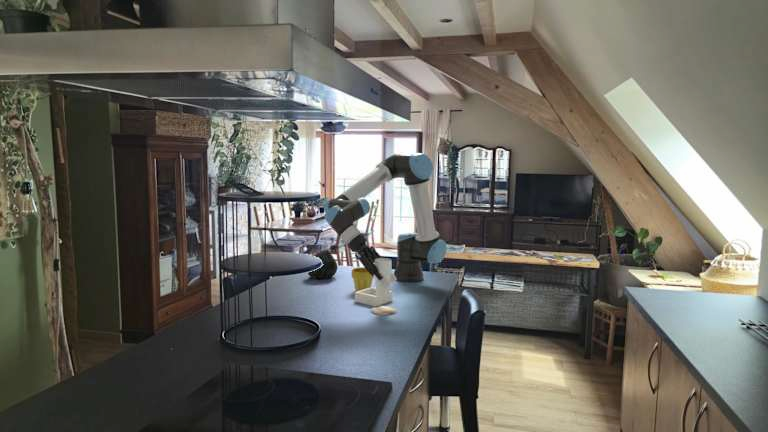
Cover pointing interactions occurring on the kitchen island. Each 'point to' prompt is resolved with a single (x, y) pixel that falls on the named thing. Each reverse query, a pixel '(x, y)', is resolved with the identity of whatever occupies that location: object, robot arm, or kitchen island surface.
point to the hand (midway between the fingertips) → (391, 283)
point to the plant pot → (361, 278)
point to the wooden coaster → (383, 310)
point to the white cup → (386, 269)
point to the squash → (325, 266)
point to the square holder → (371, 297)
